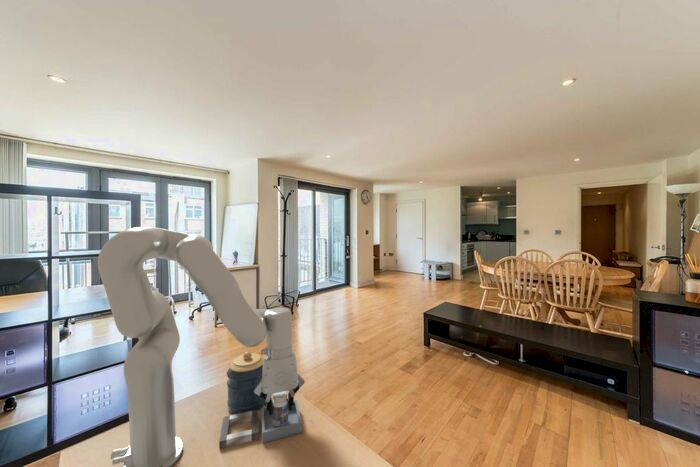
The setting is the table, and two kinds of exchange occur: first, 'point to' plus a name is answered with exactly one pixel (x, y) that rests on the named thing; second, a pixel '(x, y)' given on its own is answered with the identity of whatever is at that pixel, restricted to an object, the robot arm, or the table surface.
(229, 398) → the canister
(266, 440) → the tray
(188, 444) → the table surface
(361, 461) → the table surface
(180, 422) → the table surface
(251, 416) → the socket block
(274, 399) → the pill bottle
